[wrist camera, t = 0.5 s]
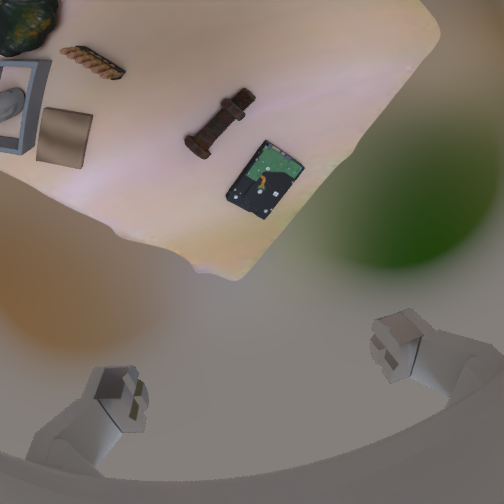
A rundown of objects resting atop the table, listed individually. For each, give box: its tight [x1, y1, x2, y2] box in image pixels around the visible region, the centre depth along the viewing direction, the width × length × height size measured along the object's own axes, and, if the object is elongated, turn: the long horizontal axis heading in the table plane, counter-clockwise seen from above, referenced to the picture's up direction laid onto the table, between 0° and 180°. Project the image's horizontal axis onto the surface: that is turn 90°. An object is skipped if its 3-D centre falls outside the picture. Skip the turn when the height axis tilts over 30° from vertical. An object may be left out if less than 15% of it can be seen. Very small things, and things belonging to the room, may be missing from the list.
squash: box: [0, 0, 58, 57], centre depth 22 cm, size 14×15×15 cm
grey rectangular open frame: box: [0, 59, 52, 155], centre depth 33 cm, size 18×14×6 cm
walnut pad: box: [36, 107, 93, 169], centre depth 43 cm, size 11×11×2 cm
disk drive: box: [226, 140, 305, 220], centre depth 59 cm, size 10×3×15 cm
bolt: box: [184, 88, 256, 159], centre depth 48 cm, size 6×5×15 cm
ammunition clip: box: [60, 46, 126, 80], centre depth 33 cm, size 11×2×12 cm, turn 47°
